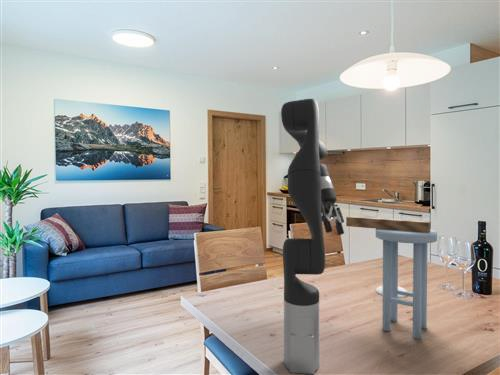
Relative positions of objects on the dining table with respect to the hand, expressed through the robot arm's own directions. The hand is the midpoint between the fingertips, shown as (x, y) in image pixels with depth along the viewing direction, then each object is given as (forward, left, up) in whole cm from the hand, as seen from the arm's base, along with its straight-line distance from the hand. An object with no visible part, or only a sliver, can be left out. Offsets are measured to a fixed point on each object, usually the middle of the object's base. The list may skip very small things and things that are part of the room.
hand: (335, 233), depth 119 cm
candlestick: (+28, -27, -30) cm, 49 cm away
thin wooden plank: (-4, -16, +2) cm, 16 cm away
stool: (-7, -21, -30) cm, 37 cm away
